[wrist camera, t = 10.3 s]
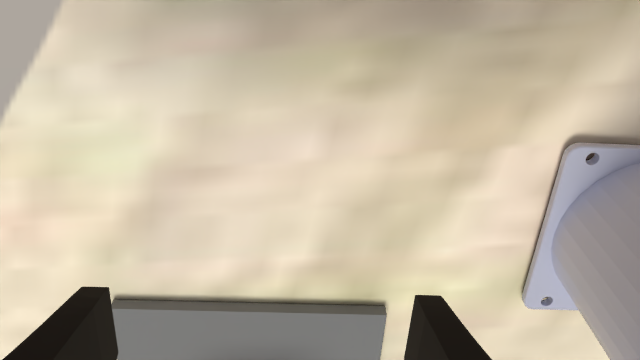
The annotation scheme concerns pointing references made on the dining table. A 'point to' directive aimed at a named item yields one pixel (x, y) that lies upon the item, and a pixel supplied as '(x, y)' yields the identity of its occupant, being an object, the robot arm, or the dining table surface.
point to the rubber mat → (246, 331)
